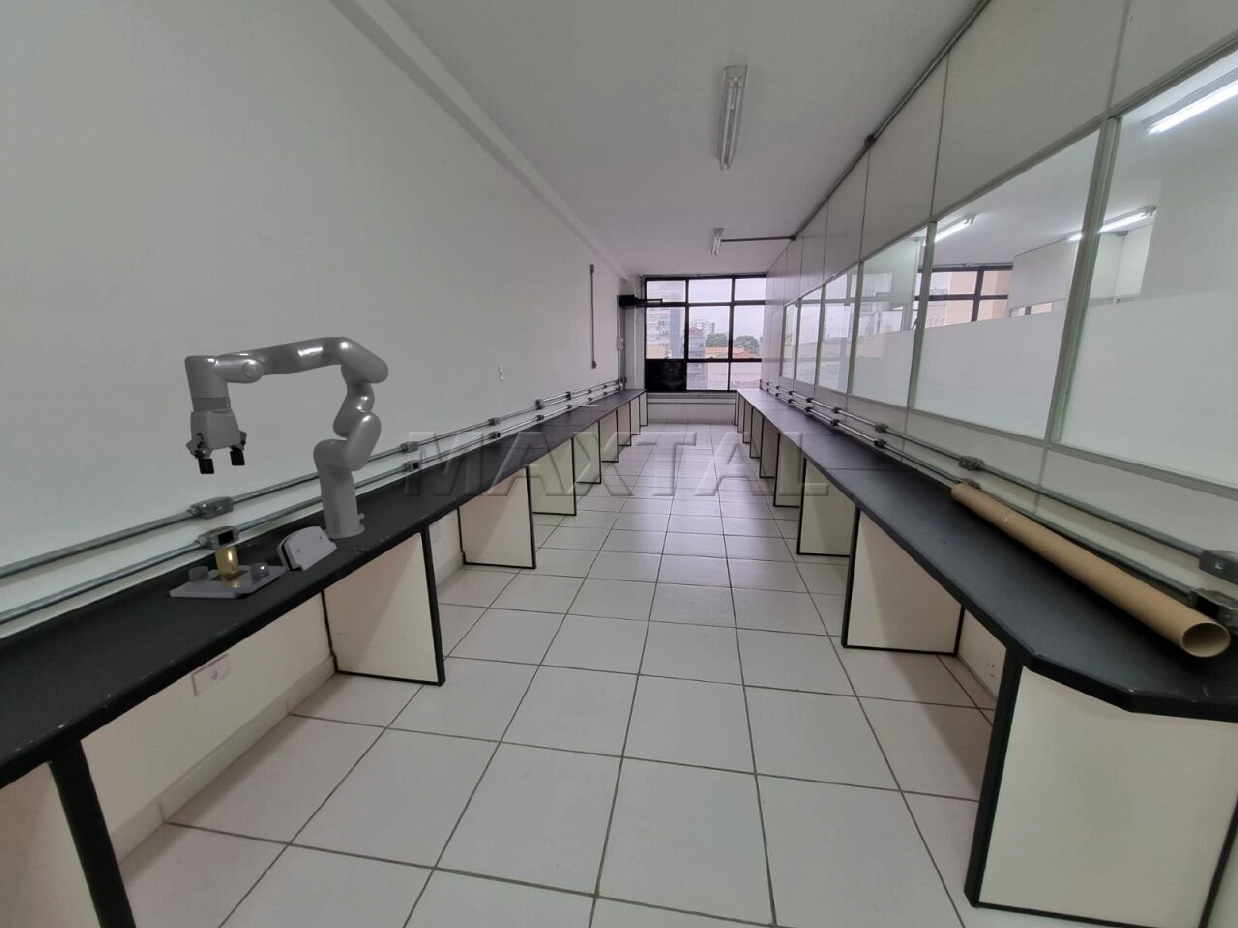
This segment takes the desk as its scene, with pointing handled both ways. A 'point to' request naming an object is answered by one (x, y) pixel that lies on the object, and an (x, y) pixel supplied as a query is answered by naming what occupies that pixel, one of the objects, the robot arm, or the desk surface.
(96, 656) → the desk surface
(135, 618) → the desk surface
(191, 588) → the knobbed base plate
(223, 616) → the desk surface
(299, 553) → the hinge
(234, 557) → the pin
